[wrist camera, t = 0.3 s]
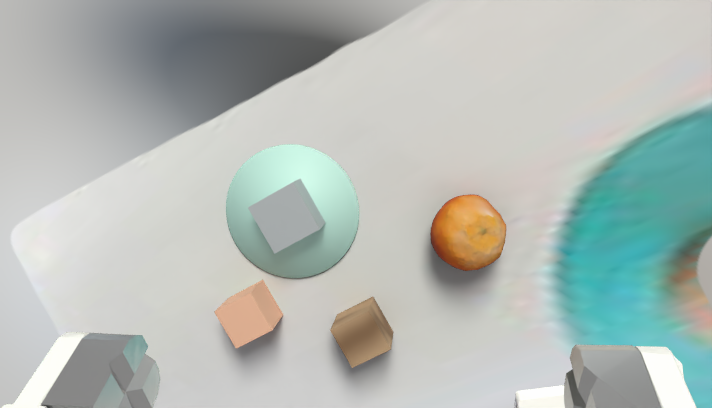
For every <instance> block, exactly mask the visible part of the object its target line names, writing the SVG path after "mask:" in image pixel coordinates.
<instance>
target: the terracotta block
mask: <svg viewBox="0 0 712 408" xmlns="http://www.w3.org/2000/svg"><path fill="white" fill-rule="evenodd" d="M215 314H216V316H217V317H218V319H219V321H220V322H221V324H222V326H223V327H224V329H225V331H226V332H227V334H228V336H229V337H230V339H231V341H232V343H233V344H234V346H235V348H236V349H237V348H239V347H241V346H243V345H245V344H246V343H248V342H250V341H252V340H254V339H256V338H258V337H260V336H262V335H264V334H266V333H268V332H270V331H272V330H273V329H274V327H275V326H276V324H277V323H278V322H279V320H280V319H281V317H282V316H283V314H282V312H281V310H280V308H279V307H278V305H277V303H276V302H275V300H274V298H273V296H272V295H271V293H270V291H269V290H268V288H267V286H266V285H265V283H264V281H263V280H262V281H260V282H258V283H256V284H254V285H252V286H250V287H248V288H246V289H245V290H243V291H241V292H239V293H237V294H235V295H233V296H231V297H230V298H228V299H227V300H226V301H225V302H224V303H223V304H222V305H221V306H220V307H219V308H218V309H217V310H216V311H215Z"/></svg>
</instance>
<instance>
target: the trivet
mask: <svg viewBox="0 0 712 408" xmlns="http://www.w3.org/2000/svg"><path fill="white" fill-rule="evenodd" d="M674 359H675V361H676V363H677V365H678V367H679V370H680V372H681V374H682V376H683V368H682V363H681V362H680V361H679V360H677V359H676V358H675V357H674ZM683 379H684V376H683ZM515 395H516V401H517V408H565V404H564V385H562V386H554V387H546V388H538V389H530V390H522V391H517V392H516V394H515Z"/></svg>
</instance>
